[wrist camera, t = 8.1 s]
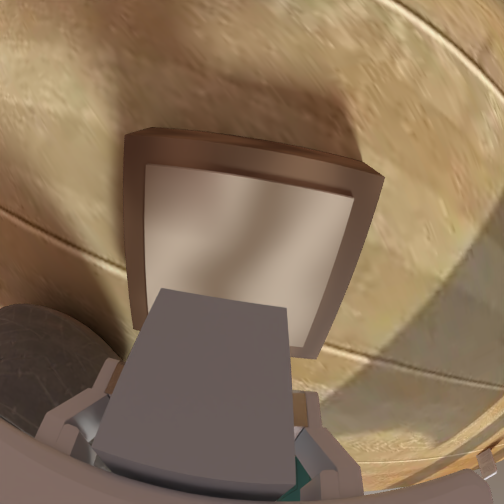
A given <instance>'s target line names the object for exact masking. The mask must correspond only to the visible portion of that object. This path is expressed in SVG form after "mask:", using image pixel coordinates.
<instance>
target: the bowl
mask: <svg viewBox="0 0 504 504" xmlns="http://www.w3.org/2000/svg"><path fill="white" fill-rule="evenodd" d="M108 358H112V359H116V360H119V361H122V362H124V361H123V360H122V359H121V358H120V357H119V356H118V355H117V354H116V353H115V352H114V351H113V350H112V349H111V348H110V346H109V345H108V344H107V343H106V342H105V341H104V340H103V339H102V338H100V337H99V336H98V335H97V334H96V333H95V332H93V331H92V330H91V329H90V328H89V327H87V326H86V325H84V324H82V323H81V322H79V321H78V320H76V319H74V318H73V317H70V316H68V315H66V314H64V313H62V312H60V311H57V310H54V309H52V308H48V307H44V306H39V305H33V304H13V305H9V306H5V307H3V308H1V309H0V418H2V419H3V420H5V421H6V422H8V423H9V424H11V425H13V426H14V427H16V428H18V429H19V430H21V431H23V432H24V433H26V434H28V435H29V436H31V437H33V438H35V436H36V434H37V431H38V429H39V427H40V425H41V423H42V421H43V419H44V417H45V415H46V413H47V412H49V411H50V410H52V409H54V408H56V407H57V406H59V405H61V404H62V403H64V402H66V401H67V400H69V399H71V398H72V397H74V396H76V395H77V394H79V393H81V392H82V391H84V390H86V389H87V388H91V389H92V387H93V385H94V383H95V381H96V379H97V377H98V375H99V373H100V371H101V369H102V367H103V365H104V363H105V361H106V360H107V359H108ZM94 438H95V437H94ZM94 438H93V439H92V440H91V441H89V442H88V443H89V444H90V445H91V446H92V444H93V441H94ZM93 466H95V467H98V468H100V469H103V470H106V471H109V472H112V471H111V470H110V469H109V468H108V467H107V466H106V464H105V463H104V462H103V461H102V460H101V458H100V457H99V456H98V455H96V458H95V461H94V465H93ZM112 473H113V472H112Z"/></svg>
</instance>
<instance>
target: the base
mask: <svg viewBox="0 0 504 504" xmlns="http://www.w3.org/2000/svg"><path fill="white" fill-rule="evenodd" d="M384 179H385V177H384V176H382V175H381V174H380V173H378V172H377V171H375V170H374V169H373V168H371V167H370V166H368V165H367V164H365V163H364V162H361V161H358V160H354V159H350V158H346V157H342V156H338V155H334V154H330V153H325V152H321V151H317V150H312V149H307V148H303V147H298V146H293V145H288V144H283V143H277V142H272V141H266V140H260V139H254V138H247V137H241V136H234V135H226V134H219V133H211V132H202V131H192V130H181V129H169V128H155V127H151V128H147V129H144V130H140V131H136V132H133V133H129V134H126V135H125V142H124V167H123V214H124V239H125V256H126V269H127V280H128V290H129V299H130V307H131V315H132V322H133V329H135V330H139V331H140V330H141V328H142V326H143V324H144V322H145V320H146V318H147V316H148V314H149V311H150V309H151V307H152V305H153V303H154V301H155V299H156V297H157V295H158V293H159V291H160V289H161V288H165V289H171V290H176V291H182V292H188V293H193V294H199V295H205V296H211V297H217V298H223V299H230V300H236V301H243V302H249V303H256V304H263V305H270V306H277V307H285V308H287V318H288V332H289V346H290V357H296V358H307V359H317V357H318V354H319V352H320V350H321V348H322V346H323V344H324V342H325V339H326V337H327V335H328V333H329V330H330V328H331V326H332V324H333V321H334V319H335V317H336V314H337V312H338V310H339V307H340V305H341V302H342V300H343V298H344V295H345V293H346V290H347V288H348V285H349V283H350V280H351V277H352V275H353V272H354V270H355V267H356V264H357V262H358V259H359V256H360V253H361V251H362V248H363V245H364V242H365V239H366V236H367V233H368V230H369V227H370V224H371V221H372V218H373V215H374V212H375V209H376V206H377V202H378V199H379V196H380V193H381V189H382V186H383V182H384Z"/></svg>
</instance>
